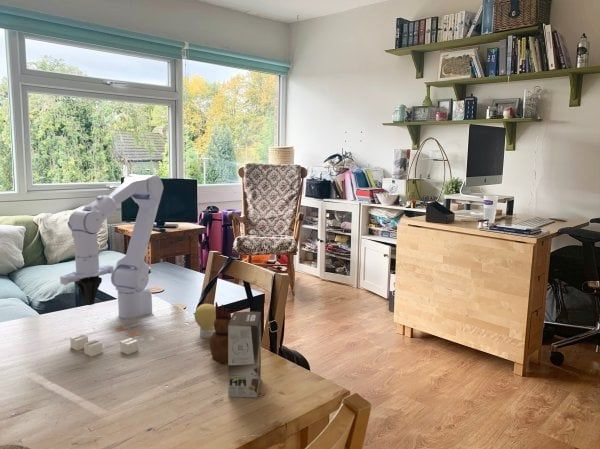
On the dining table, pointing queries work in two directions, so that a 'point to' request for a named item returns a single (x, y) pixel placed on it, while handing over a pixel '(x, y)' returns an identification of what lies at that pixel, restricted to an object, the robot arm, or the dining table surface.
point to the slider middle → (93, 348)
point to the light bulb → (205, 319)
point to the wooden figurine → (220, 336)
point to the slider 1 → (78, 341)
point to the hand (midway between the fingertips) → (89, 304)
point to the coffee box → (244, 354)
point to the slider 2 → (129, 346)
